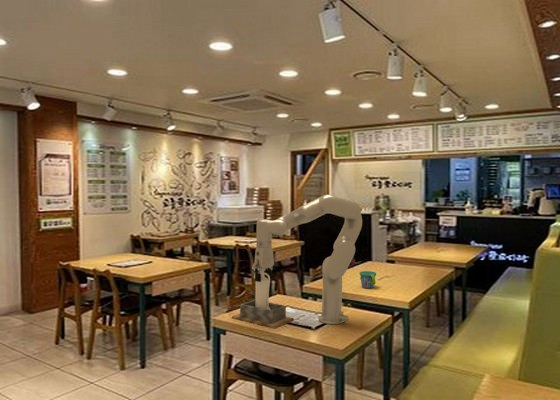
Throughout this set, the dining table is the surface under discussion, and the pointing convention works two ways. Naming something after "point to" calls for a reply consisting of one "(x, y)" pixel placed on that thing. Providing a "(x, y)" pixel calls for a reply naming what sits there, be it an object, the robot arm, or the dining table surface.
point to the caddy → (263, 315)
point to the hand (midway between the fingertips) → (263, 279)
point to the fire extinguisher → (262, 291)
